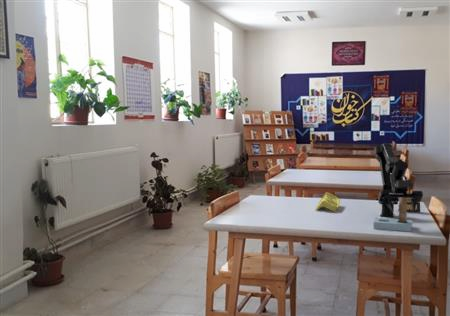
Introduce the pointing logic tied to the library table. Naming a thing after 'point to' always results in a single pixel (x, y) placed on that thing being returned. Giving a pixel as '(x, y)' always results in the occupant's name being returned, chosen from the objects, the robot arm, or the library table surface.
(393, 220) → the peg board
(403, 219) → the walnut peg
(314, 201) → the library table surface
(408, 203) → the ammunition clip
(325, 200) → the plastic component
